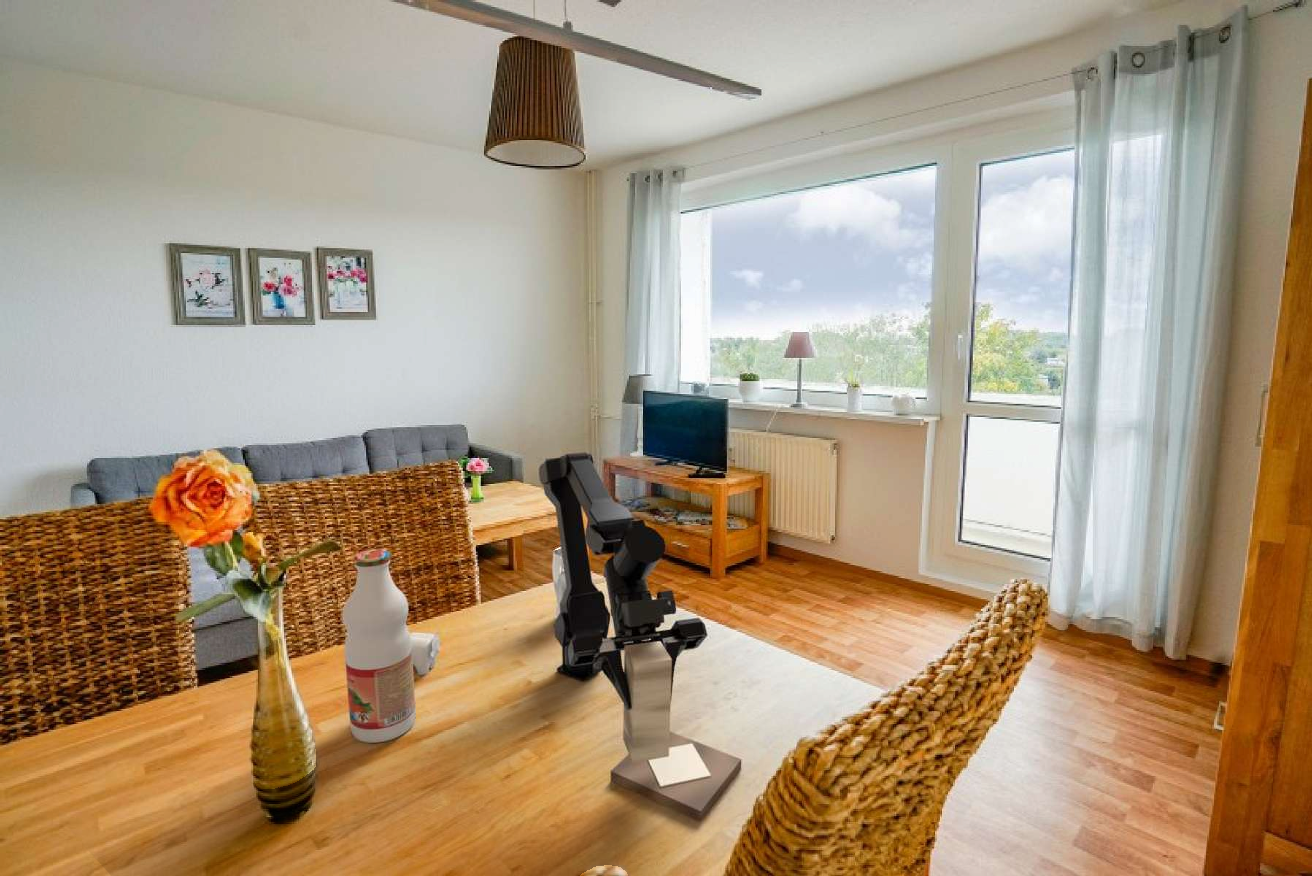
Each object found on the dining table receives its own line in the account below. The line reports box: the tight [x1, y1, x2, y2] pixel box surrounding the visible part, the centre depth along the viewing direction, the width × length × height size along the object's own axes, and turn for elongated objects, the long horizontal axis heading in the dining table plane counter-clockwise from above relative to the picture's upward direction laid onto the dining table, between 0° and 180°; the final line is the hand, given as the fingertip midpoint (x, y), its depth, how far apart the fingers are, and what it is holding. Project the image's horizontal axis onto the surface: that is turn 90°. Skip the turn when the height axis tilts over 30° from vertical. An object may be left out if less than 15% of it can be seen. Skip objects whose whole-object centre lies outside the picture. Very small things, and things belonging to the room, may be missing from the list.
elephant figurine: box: [410, 632, 443, 676], centre depth 120 cm, size 8×10×7 cm
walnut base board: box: [610, 731, 742, 822], centre depth 92 cm, size 14×12×2 cm
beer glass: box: [552, 546, 566, 620], centre depth 139 cm, size 7×7×15 cm
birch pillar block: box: [622, 641, 672, 763], centre depth 88 cm, size 5×5×14 cm
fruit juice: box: [342, 548, 417, 744], centre depth 101 cm, size 9×9×28 cm
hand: (649, 705), depth 87 cm, fingers closed on birch pillar block, 5 cm apart
